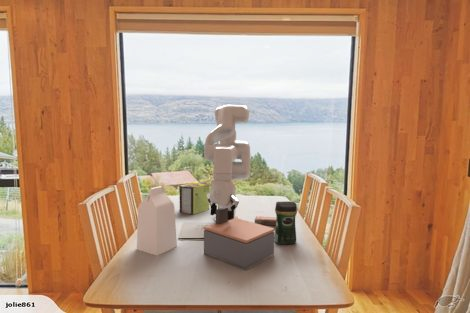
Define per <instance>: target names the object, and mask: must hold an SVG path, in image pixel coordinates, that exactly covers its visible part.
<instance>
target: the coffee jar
mask: <svg viewBox="0 0 470 313" xmlns="http://www.w3.org/2000/svg"><path fill="white" fill-rule="evenodd" d="M274 212H275V214H276V215H275V216H276V217H275V218H276V228H275V231H274V232H275V235H274V243H276V244H278V245H294V244H296V243H297V230H296V217H297V214H298V206H297V203H296V202H295V201H276V203H275V206H274Z"/></svg>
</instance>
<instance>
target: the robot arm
mask: <svg viewBox="0 0 470 313" xmlns="http://www.w3.org/2000/svg"><path fill="white" fill-rule="evenodd" d="M249 117H250V112H249V108H248V107H247V105H244V104H243V105H241V104H238V105H237V104H226V105H222V106H219V107H216V109H215V110H214V118H215V122H216V127H215V128H214V129H212V130H211V131H210V132H209V133H208V135H207V136H206V138H205V141H204V151H203V156H204V159H205V160H206V161H207V162H213V172H212V176H213V178H212V179H211V182H210V193H208V194H207V198H208V201H209V207H210V216H214V215H215V216H214V221H215V222H216V209H220V208H223V207H228V220H232V219H234V217H235V218H238V219H239V217H238V216H236V211H237V207H238V205H239V203H240V201H239V200H238V198H237V187H236V185H235V183H234V182H233V181H246V180H247V181H248V179H249V178H250V176H251V146H250V144H249V142H248V141H245V140H237V131H236V124H247V123H248V122H249V119H250V118H249ZM218 142H219V144H218ZM216 143H217V144H216ZM236 160H240V161H236Z"/></svg>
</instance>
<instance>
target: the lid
mask: <svg viewBox="0 0 470 313" xmlns="http://www.w3.org/2000/svg"><path fill="white" fill-rule="evenodd" d="M215 217H216V221H215V222H214V223H212V224H208V225H205V226H203V230H208V231H211V232H214V233H217V234H220V235H223V236H226V237H229V238H232V239H235V240H238V241H241V242H244V243H248V242H250V241H253V240H255V239H257V238H260V237H262V236H264V235H267V234H269V233H271V232H275V229H274V228H271V227H267V226H263V225H260V224H256V223H255V222H254V221H253V222H252V221H248V220H245V219H241V218H239V217H238V218H235V217H234V219H232V220H228V207H223V208H220V209H218V208H217V209H216V214H215Z"/></svg>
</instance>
